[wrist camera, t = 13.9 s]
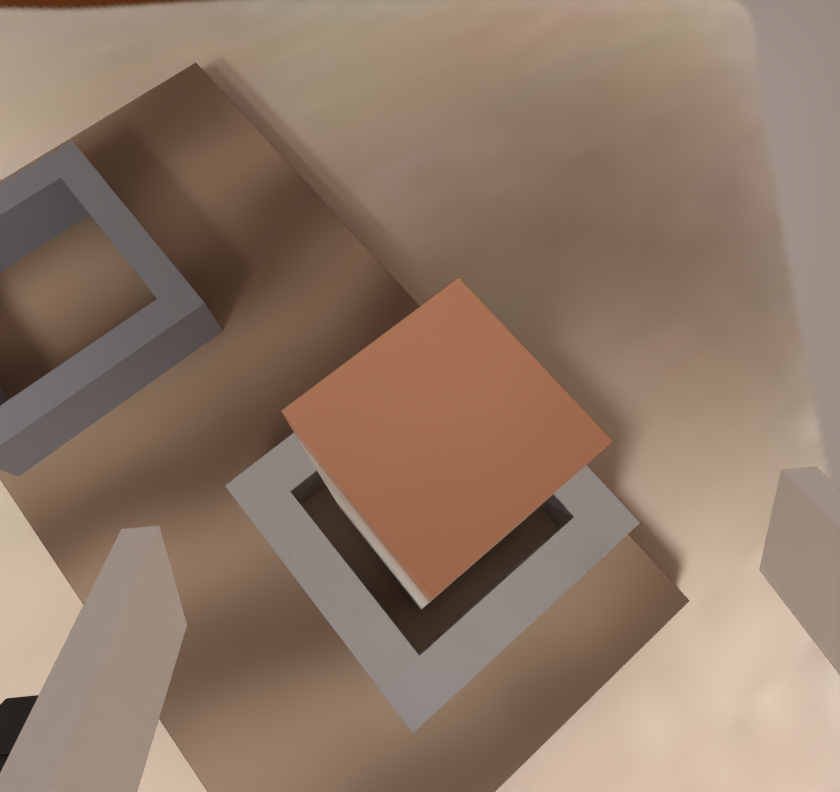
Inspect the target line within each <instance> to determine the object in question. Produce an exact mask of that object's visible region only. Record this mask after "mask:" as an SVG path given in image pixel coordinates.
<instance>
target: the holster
mask: <svg viewBox="0 0 840 792" xmlns="http://www.w3.org/2000/svg"><path fill="white" fill-rule="evenodd" d="M89 215H90V216H91V217H92V218H93V220H94V221H95V222H96V223H97V225H98V226H99V227H100V228H101V230H102V231H103V232H104V233H105V235H106V236H107V237H108V238H109V240H110V241H111V242H112V243H113V245H114V246H115V247H116V248H117V250H118V251H119V252H120V253H121V255H122V256H123V257H124V259H125V260H126V261H127V262H128V264H129V265H130V266H131V267H132V269H133V270H134V271H135V272H136V274H137V275H138V276H139V277H140V279H141V280H142V281H143V282H144V284H145V285H146V286H147V287H148V289H149V290H150V291H151V292H152V294H153V295H154V296H155V297H156V300H155V301H153V302H152V303H150V304H149V305H147V306H146V307H144V308H143V309H141V310H140V311H138V312H137V313H136V314H134V315H133V316H131V317H130V318H128V319H127V320H125V321H124V322H122V323H121V324H119V325H118V326H117V327H115V328H114V329H112V330H111V331H109V332H108V333H106V334H105V335H103V336H102V337H100V338H99V339H97V340H96V341H95V342H93V343H92V344H90V345H89V346H87V347H86V348H84V349H83V350H81V351H80V352H78V353H77V354H75V355H74V356H73V357H71V358H70V359H68V360H67V361H65V362H64V363H62V364H61V365H59V366H58V367H56V368H55V369H53V370H52V371H51V372H49V373H48V374H46V375H45V376H43V377H42V378H40V379H39V380H37V381H36V382H34V383H33V384H31V385H30V386H29V387H27V388H26V389H24V390H23V391H21V392H20V393H18V394H17V395H15V396H14V397H12V398H11V399H8V397H7V396H6V395H5V393H4V392H3V390H2V389H1V387H0V470H2V471H4V472H7V473H10V474H13V475H15V476H18V477H19V476H20V475H22V474H23V473H24V472H26V471H27V470H29V469H30V468H31V467H33V466H34V465H36V464H37V463H39V462H40V461H41V460H43V459H44V458H46V457H47V456H48V455H50V454H51V453H53V452H54V451H55V450H57V449H58V448H60V447H61V446H62V445H64V444H65V443H67V442H68V441H69V440H71V439H72V438H74V437H75V436H76V435H78V434H79V433H81V432H82V431H84V430H85V429H86V428H88V427H89V426H91V425H92V424H93V423H95V422H96V421H98V420H99V419H100V418H102V417H103V416H105V415H106V414H107V413H109V412H110V411H112V410H113V409H114V408H116V407H117V406H119V405H120V404H121V403H123V402H124V401H126V400H127V399H129V398H130V397H131V396H133V395H134V394H136V393H137V392H138V391H140V390H141V389H143V388H144V387H145V386H147V385H148V384H150V383H151V382H152V381H154V380H155V379H157V378H158V377H159V376H161V375H162V374H164V373H165V372H166V371H168V370H169V369H171V368H172V367H174V366H175V365H176V364H178V363H179V362H181V361H182V360H183V359H185V358H186V357H188V356H189V355H190V354H192V353H193V352H195V351H196V350H197V349H199V348H200V347H202V346H203V345H204V344H206V343H207V342H209V341H210V340H211V339H213V338H214V337H216V336H217V335H219V334H220V333H221V332H223V331H222V329H221V328H220V326H219V324H218V323H217V321H216V320H215V318H214V317H213V315H212V314H211V312H210V310H209V309H208V307H207V306H206V304H205V303H204V301H203V300H202V299H201V298H200V297H199V295H198V294H197V293H196V292H195V290H194V289H193V288H192V287H191V286H190V284H189V283H188V282H187V281H186V279H185V278H184V277H183V276H182V274H181V273H180V272H179V271H178V270H177V268H176V267H175V266H174V265H173V263H172V262H171V261H170V260H169V259H168V257H167V256H166V255H165V254H164V252H163V251H162V250H161V249H160V248H159V246H158V245H157V244H156V243H155V241H154V240H153V239H152V238H151V237H150V235H149V234H148V233H147V232H146V230H145V229H144V228H143V227H142V226H141V224H140V223H139V222H138V221H137V219H136V218H135V217H134V216H133V214H132V213H131V212H130V211H129V210H128V208H127V207H126V206H125V205H124V203H123V202H122V201H121V200H120V199H119V197H118V196H117V195H116V194H115V192H114V191H113V190H112V189H111V188H110V186H109V185H108V184H107V183H106V181H105V180H104V179H103V178H102V177H101V175H100V174H99V173H98V172H97V170H96V169H95V168H94V167H93V166H92V164H91V163H90V162H89V161H88V159H87V158H86V157H85V156H84V154H83V153H82V152H81V151H80V150H79V148H78V147H77V146H76V145H75V143H74V142H73V141H72V140H71V141H69V142H68V143H66V144H64V145H63V146H61V147H59V148H58V149H56V150H54V151H53V152H51V153H49V154H48V155H46V156H44V157H43V158H41V159H40V160H38V161H36V162H35V163H33V164H31V165H30V166H28V167H26V168H25V169H23V170H21V171H20V172H18V173H16V174H15V175H13V176H11V177H10V178H8V179H6V180H5V181H3V182H2V183H0V272H1V271H3V270H4V269H6V268H8V267H9V266H11V265H12V264H14V263H15V262H17V261H19V260H20V259H22V258H23V257H25V256H26V255H28V254H30V253H31V252H33V251H34V250H36V249H37V248H39V247H41V246H42V245H44V244H45V243H47V242H48V241H50V240H52V239H53V238H55V237H56V236H58V235H59V234H61V233H63V232H64V231H66V230H67V229H69V228H70V227H72V226H74V225H75V224H77V223H78V222H80V221H81V220H83V219H85V218H86V217H88V216H89Z"/></svg>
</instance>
